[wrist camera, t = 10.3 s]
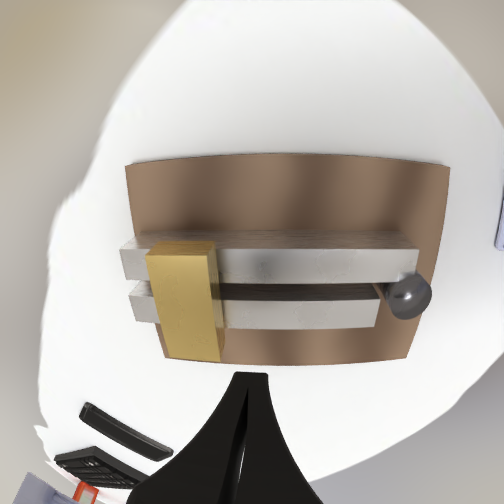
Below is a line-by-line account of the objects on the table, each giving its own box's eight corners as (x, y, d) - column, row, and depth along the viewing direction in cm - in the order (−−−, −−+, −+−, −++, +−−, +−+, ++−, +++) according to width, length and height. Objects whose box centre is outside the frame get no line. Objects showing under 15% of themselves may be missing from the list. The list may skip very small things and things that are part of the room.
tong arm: (367, 274, 17) (380, 299, 15) (362, 300, 18) (373, 326, 16) (146, 272, 19) (128, 295, 16) (152, 297, 20) (136, 321, 17)
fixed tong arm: (417, 231, 16) (442, 253, 13) (406, 289, 18) (424, 318, 15) (140, 231, 18) (114, 252, 15) (151, 288, 20) (131, 316, 16)
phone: (84, 404, 30) (174, 454, 32) (87, 398, 31) (176, 449, 33) (77, 418, 32) (156, 462, 35) (80, 413, 33) (157, 457, 36)
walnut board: (442, 165, 15) (450, 167, 14) (402, 350, 21) (405, 358, 21) (132, 164, 17) (124, 166, 16) (168, 350, 23) (165, 357, 22)
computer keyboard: (96, 443, 39) (90, 457, 36) (159, 478, 43) (155, 492, 39) (56, 454, 54) (52, 462, 51) (95, 479, 58) (92, 487, 54)
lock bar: (215, 240, 14) (206, 255, 12) (225, 341, 16) (220, 361, 15) (158, 241, 14) (144, 255, 12) (178, 337, 17) (169, 357, 15)
